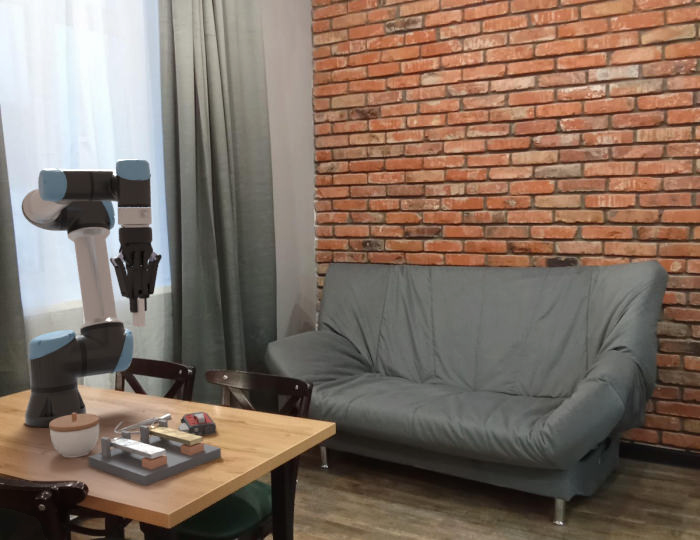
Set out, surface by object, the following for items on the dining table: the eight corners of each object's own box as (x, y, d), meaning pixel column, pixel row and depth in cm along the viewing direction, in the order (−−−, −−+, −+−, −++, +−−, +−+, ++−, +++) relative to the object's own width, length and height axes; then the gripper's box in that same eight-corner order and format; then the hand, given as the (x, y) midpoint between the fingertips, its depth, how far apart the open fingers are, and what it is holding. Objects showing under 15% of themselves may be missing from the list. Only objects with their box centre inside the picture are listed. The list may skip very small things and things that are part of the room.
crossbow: (130, 443, 168) (129, 435, 168) (103, 433, 176) (102, 425, 176) (184, 423, 180) (183, 415, 180) (156, 415, 189) (155, 407, 188)
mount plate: (88, 465, 149) (87, 438, 149) (164, 440, 165) (163, 416, 165) (145, 485, 137) (143, 456, 137) (220, 456, 153) (219, 430, 153)
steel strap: (106, 446, 150) (106, 439, 150) (120, 442, 153) (120, 435, 153) (151, 460, 141) (151, 452, 141) (165, 455, 143) (165, 448, 143)
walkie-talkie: (173, 426, 178) (186, 449, 160) (172, 409, 178) (185, 430, 159) (207, 421, 182) (223, 443, 163) (206, 405, 181) (222, 425, 163)
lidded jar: (99, 458, 154) (97, 417, 154) (47, 463, 151) (45, 422, 151) (102, 443, 165) (100, 404, 164) (54, 448, 162) (51, 409, 161)
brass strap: (145, 434, 158) (144, 427, 158) (157, 430, 161) (157, 424, 161) (190, 446, 149) (190, 439, 149) (203, 442, 151) (202, 435, 151)
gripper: (120, 227, 153) (124, 331, 156) (168, 225, 164) (171, 323, 166) (101, 226, 158) (105, 328, 160) (148, 225, 168) (152, 320, 170)
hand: (139, 325), depth 163 cm, fingers closed
